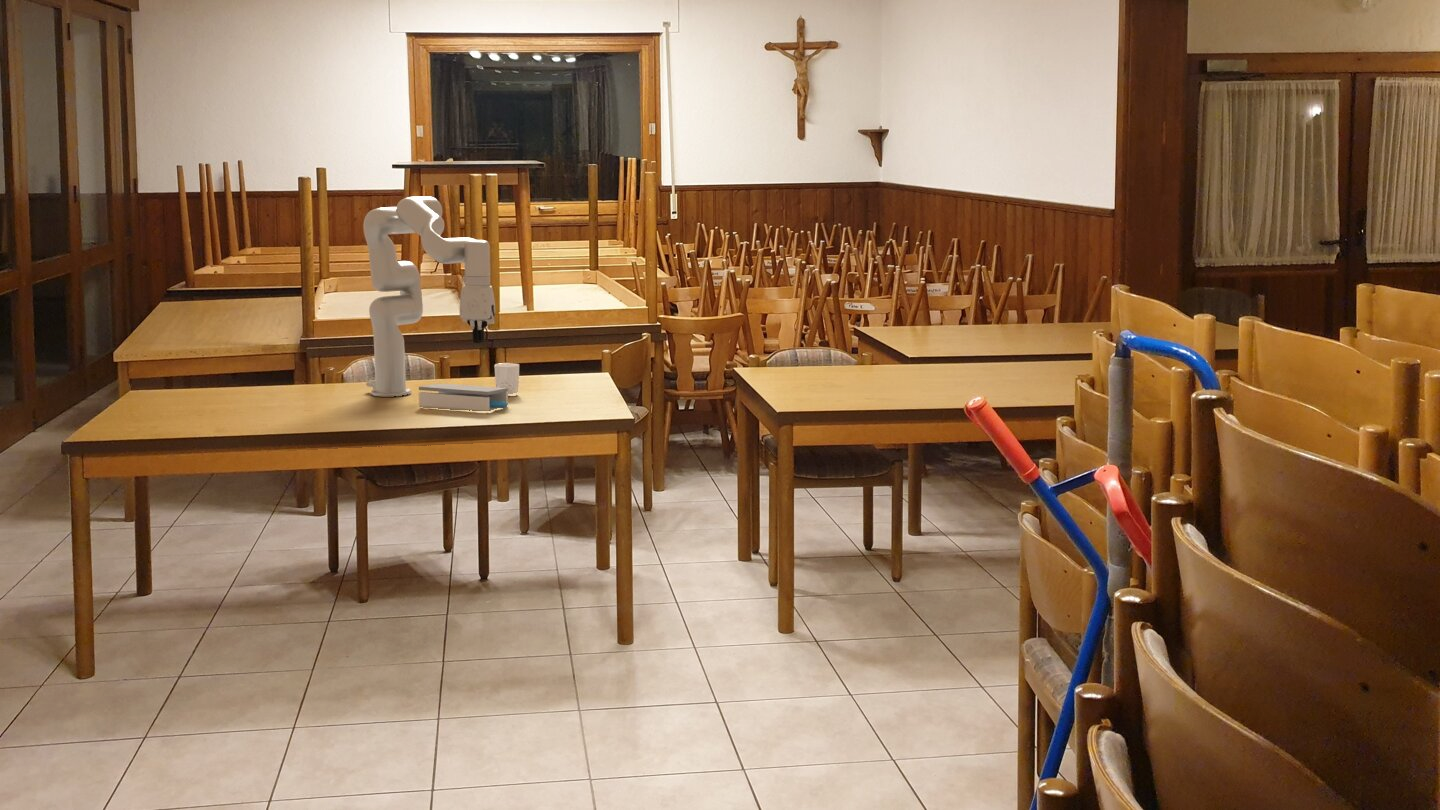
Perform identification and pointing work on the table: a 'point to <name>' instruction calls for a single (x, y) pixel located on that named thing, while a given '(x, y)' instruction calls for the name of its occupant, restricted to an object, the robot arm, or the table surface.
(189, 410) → the table surface
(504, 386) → the white cup
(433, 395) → the pale long box
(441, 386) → the cover
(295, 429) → the table surface
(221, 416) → the table surface
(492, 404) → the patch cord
